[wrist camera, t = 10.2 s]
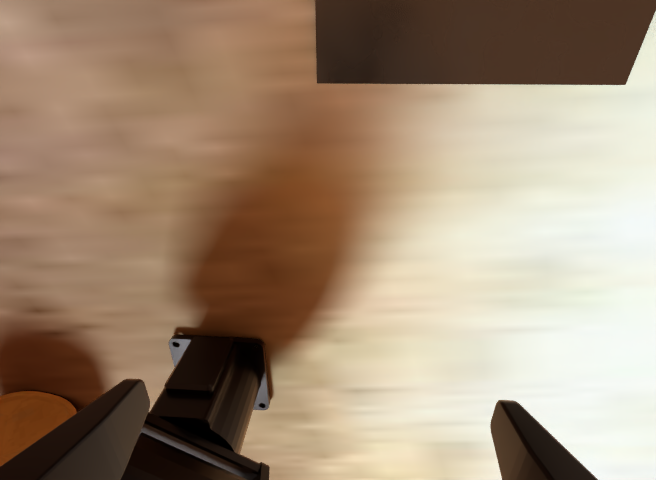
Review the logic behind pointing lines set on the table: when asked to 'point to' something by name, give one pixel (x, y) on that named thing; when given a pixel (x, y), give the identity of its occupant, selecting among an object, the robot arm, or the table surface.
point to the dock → (480, 41)
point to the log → (29, 419)
